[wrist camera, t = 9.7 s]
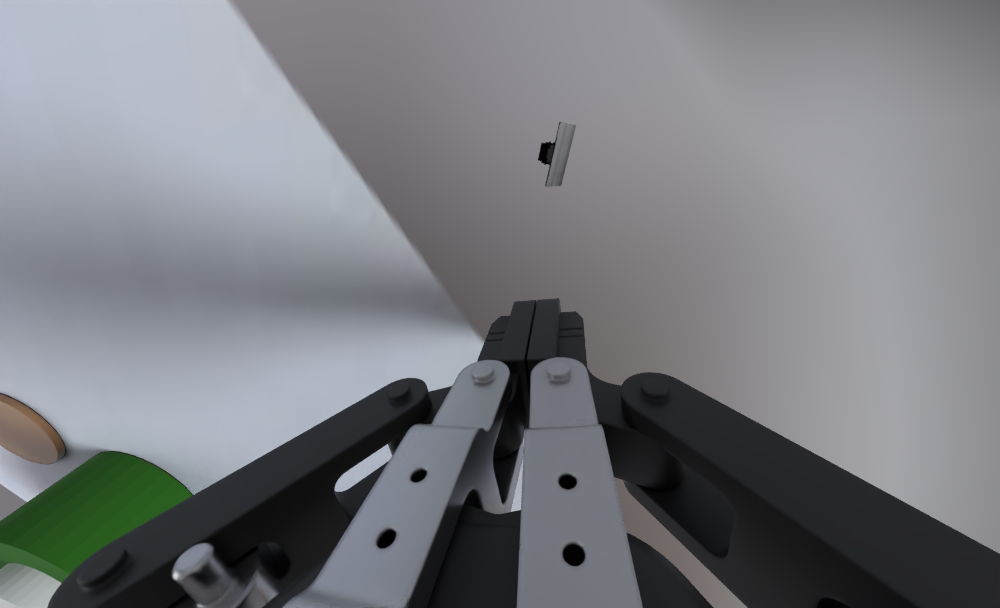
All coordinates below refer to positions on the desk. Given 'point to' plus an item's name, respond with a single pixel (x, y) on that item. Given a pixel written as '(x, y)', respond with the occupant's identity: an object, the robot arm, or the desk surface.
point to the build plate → (557, 154)
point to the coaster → (28, 433)
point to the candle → (78, 523)
